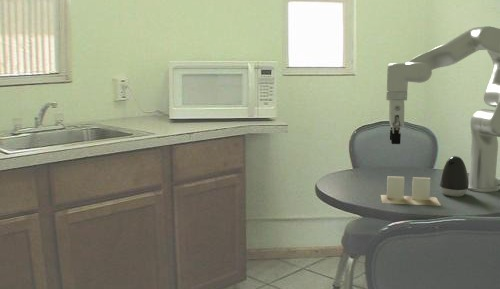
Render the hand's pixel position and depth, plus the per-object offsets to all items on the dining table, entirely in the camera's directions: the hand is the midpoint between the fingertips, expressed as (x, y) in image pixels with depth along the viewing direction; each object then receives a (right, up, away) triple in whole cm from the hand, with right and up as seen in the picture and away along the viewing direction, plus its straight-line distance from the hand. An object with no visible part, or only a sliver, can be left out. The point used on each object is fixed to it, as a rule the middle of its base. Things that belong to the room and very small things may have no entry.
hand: (394, 141), depth 192 cm
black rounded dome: (+22, -21, -1) cm, 30 cm away
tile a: (+7, -21, -8) cm, 24 cm away
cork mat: (+3, -22, -9) cm, 24 cm away
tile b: (-2, -21, -6) cm, 22 cm away
